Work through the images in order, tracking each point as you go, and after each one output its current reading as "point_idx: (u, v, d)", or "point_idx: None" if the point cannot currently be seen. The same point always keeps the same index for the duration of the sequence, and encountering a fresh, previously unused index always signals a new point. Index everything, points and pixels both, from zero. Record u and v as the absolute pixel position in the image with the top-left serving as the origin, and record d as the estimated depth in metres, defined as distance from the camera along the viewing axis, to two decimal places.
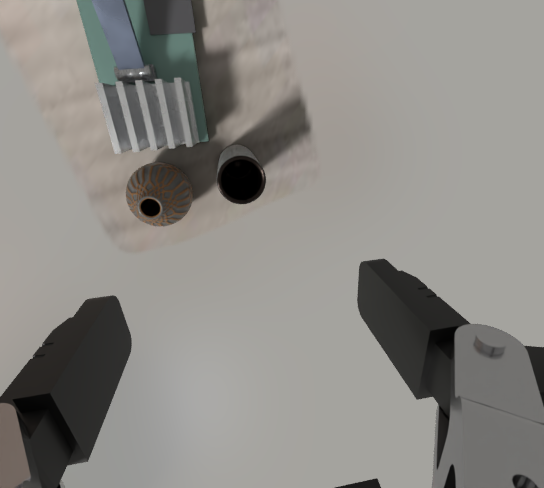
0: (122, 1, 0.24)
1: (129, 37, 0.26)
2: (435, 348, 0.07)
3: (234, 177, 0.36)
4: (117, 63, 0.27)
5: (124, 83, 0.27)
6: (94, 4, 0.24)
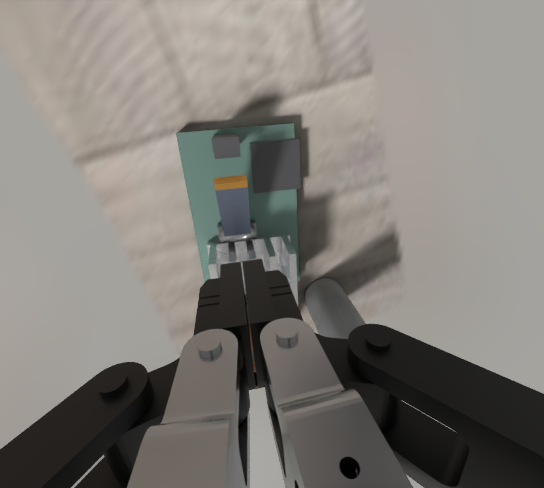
0: (247, 192, 0.22)
1: (244, 215, 0.24)
2: None
3: None
4: (225, 232, 0.26)
5: (235, 259, 0.25)
6: (217, 196, 0.22)
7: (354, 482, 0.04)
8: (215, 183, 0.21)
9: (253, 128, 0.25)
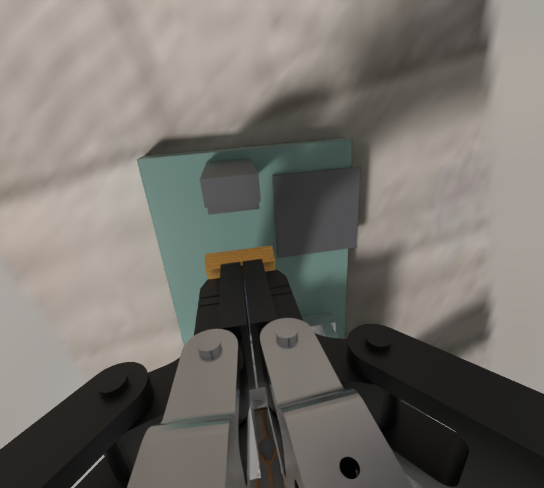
0: None
1: None
2: None
3: None
4: None
5: None
6: None
7: (354, 482, 0.04)
8: (208, 268, 0.10)
9: (279, 149, 0.14)
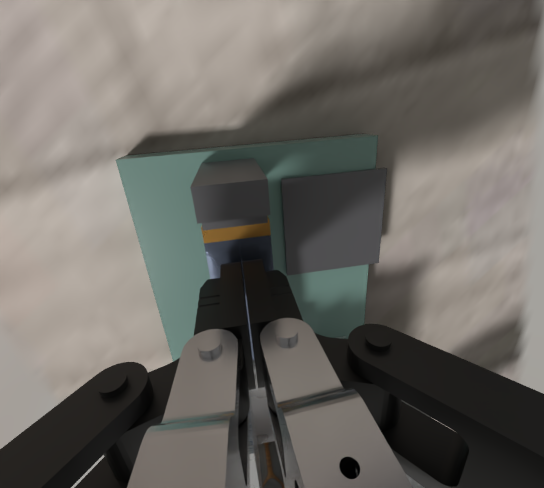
0: (270, 248, 0.11)
1: None
2: None
3: None
4: None
5: (252, 439, 0.11)
6: (210, 259, 0.11)
7: (354, 482, 0.04)
8: None
9: (290, 147, 0.11)
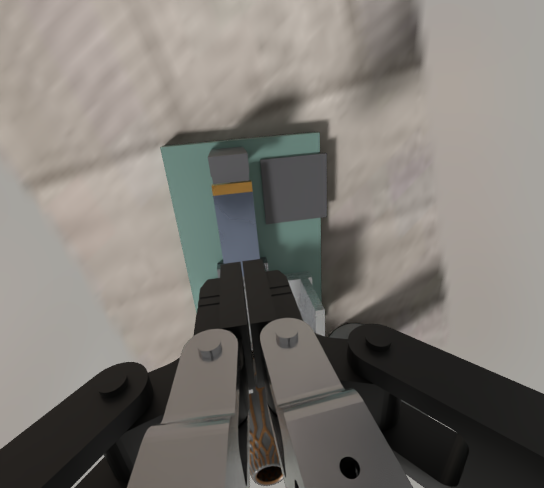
0: (252, 200, 0.18)
1: (251, 239, 0.19)
2: None
3: None
4: None
5: None
6: (216, 206, 0.18)
7: (354, 482, 0.04)
8: (213, 185, 0.18)
9: (265, 139, 0.19)
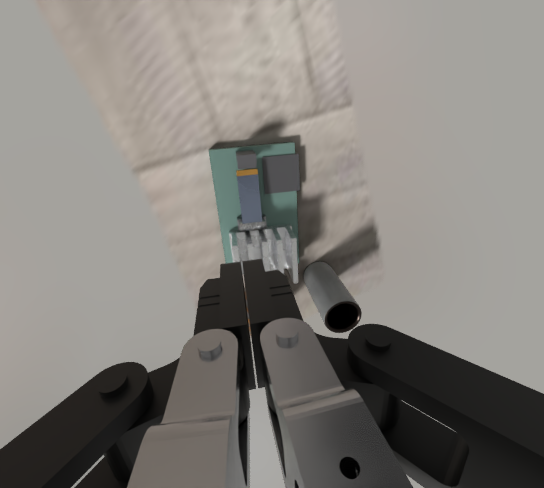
0: (257, 178, 0.34)
1: (256, 200, 0.35)
2: None
3: None
4: (243, 219, 0.35)
5: (252, 242, 0.34)
6: (238, 181, 0.34)
7: (354, 482, 0.04)
8: (237, 170, 0.33)
9: (264, 146, 0.34)
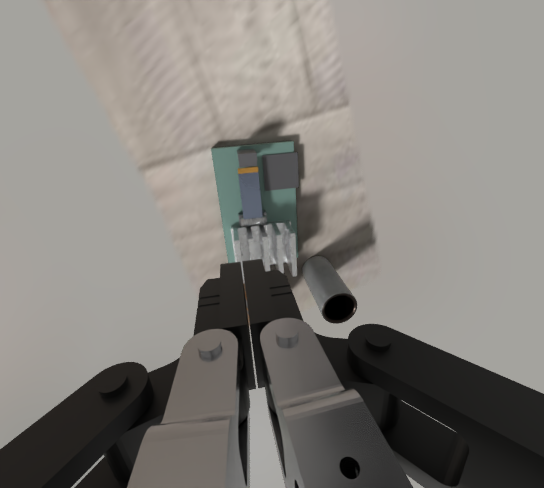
0: (258, 176, 0.35)
1: (257, 197, 0.36)
2: None
3: None
4: (244, 215, 0.37)
5: (252, 237, 0.36)
6: (239, 179, 0.35)
7: (354, 482, 0.04)
8: (238, 168, 0.35)
9: (264, 145, 0.36)
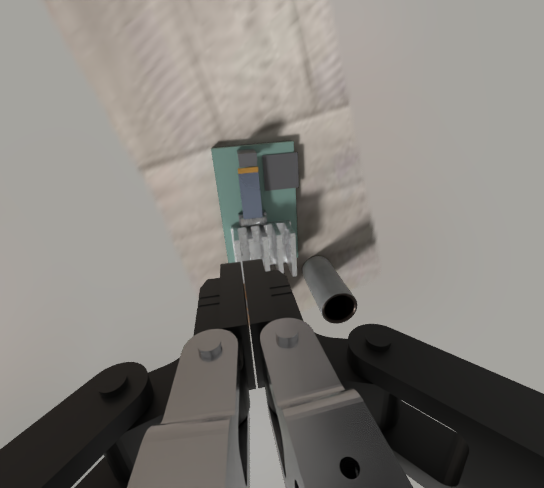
0: (258, 176, 0.35)
1: (257, 197, 0.36)
2: None
3: None
4: (244, 215, 0.37)
5: (252, 237, 0.36)
6: (239, 179, 0.35)
7: (354, 482, 0.04)
8: (238, 168, 0.35)
9: (264, 145, 0.36)
